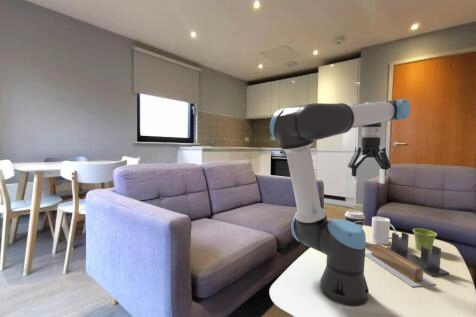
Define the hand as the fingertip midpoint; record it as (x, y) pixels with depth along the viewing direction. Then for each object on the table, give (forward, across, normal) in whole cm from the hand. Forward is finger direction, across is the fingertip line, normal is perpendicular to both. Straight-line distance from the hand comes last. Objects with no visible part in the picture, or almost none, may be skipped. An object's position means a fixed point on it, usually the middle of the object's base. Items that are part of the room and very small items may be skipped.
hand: (368, 183), depth 110 cm
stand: (+33, +16, -10) cm, 38 cm away
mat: (+33, +3, -14) cm, 36 cm away
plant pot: (+33, +32, 0) cm, 46 cm away
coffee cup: (+33, +4, +14) cm, 36 cm away
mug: (+33, +18, +10) cm, 39 cm away
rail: (+32, +3, -14) cm, 35 cm away
